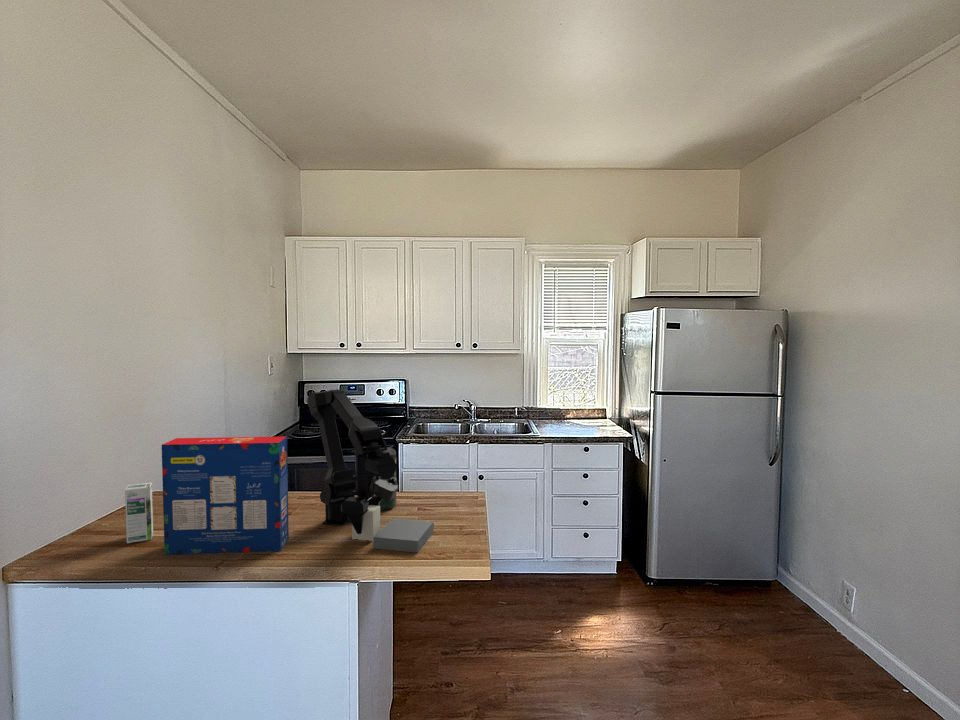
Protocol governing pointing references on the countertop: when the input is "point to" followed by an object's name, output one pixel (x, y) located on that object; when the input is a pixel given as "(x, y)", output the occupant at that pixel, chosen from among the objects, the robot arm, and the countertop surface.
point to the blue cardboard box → (225, 495)
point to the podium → (404, 535)
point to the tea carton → (369, 524)
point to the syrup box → (139, 512)
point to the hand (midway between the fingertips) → (366, 527)
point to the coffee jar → (384, 503)
